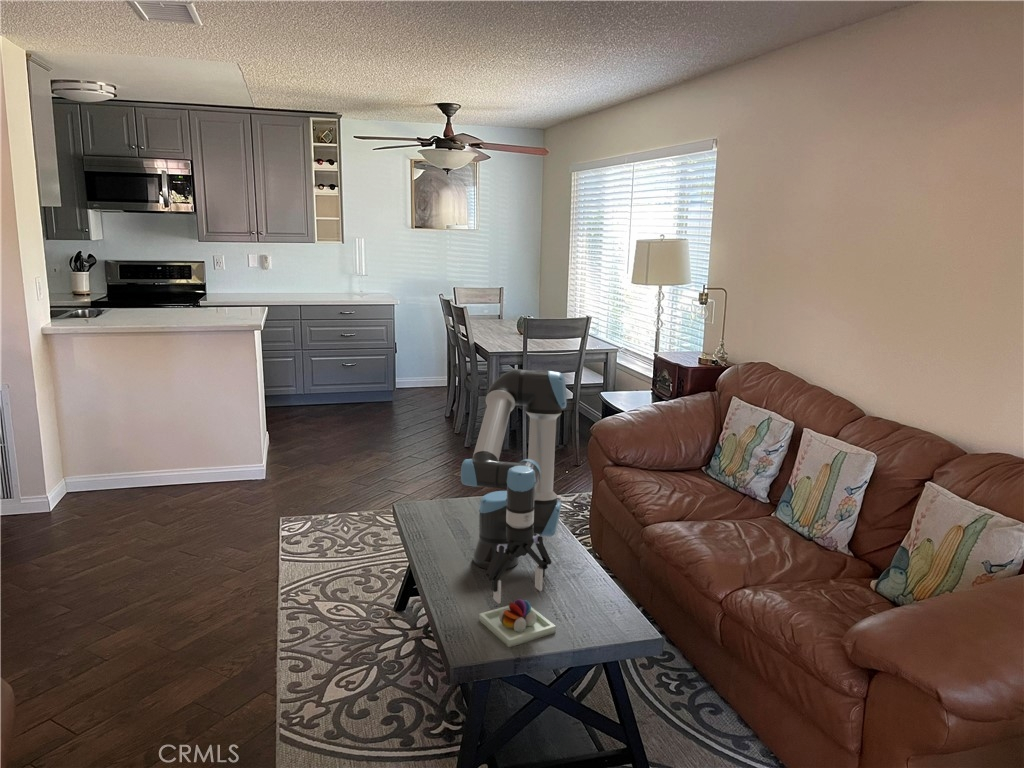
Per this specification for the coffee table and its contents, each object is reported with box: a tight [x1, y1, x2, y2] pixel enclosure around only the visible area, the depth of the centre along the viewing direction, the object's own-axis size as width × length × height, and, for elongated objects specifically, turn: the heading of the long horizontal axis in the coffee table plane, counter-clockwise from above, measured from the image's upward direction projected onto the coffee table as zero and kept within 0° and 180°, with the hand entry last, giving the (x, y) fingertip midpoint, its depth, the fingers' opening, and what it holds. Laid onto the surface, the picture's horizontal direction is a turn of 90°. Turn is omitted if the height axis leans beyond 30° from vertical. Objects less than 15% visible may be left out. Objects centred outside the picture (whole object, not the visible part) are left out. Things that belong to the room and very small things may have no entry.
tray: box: [478, 605, 557, 648], centre depth 202 cm, size 16×15×2 cm
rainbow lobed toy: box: [499, 598, 537, 632], centre depth 201 cm, size 8×10×7 cm
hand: (518, 594), depth 201 cm, fingers open, 13 cm apart
